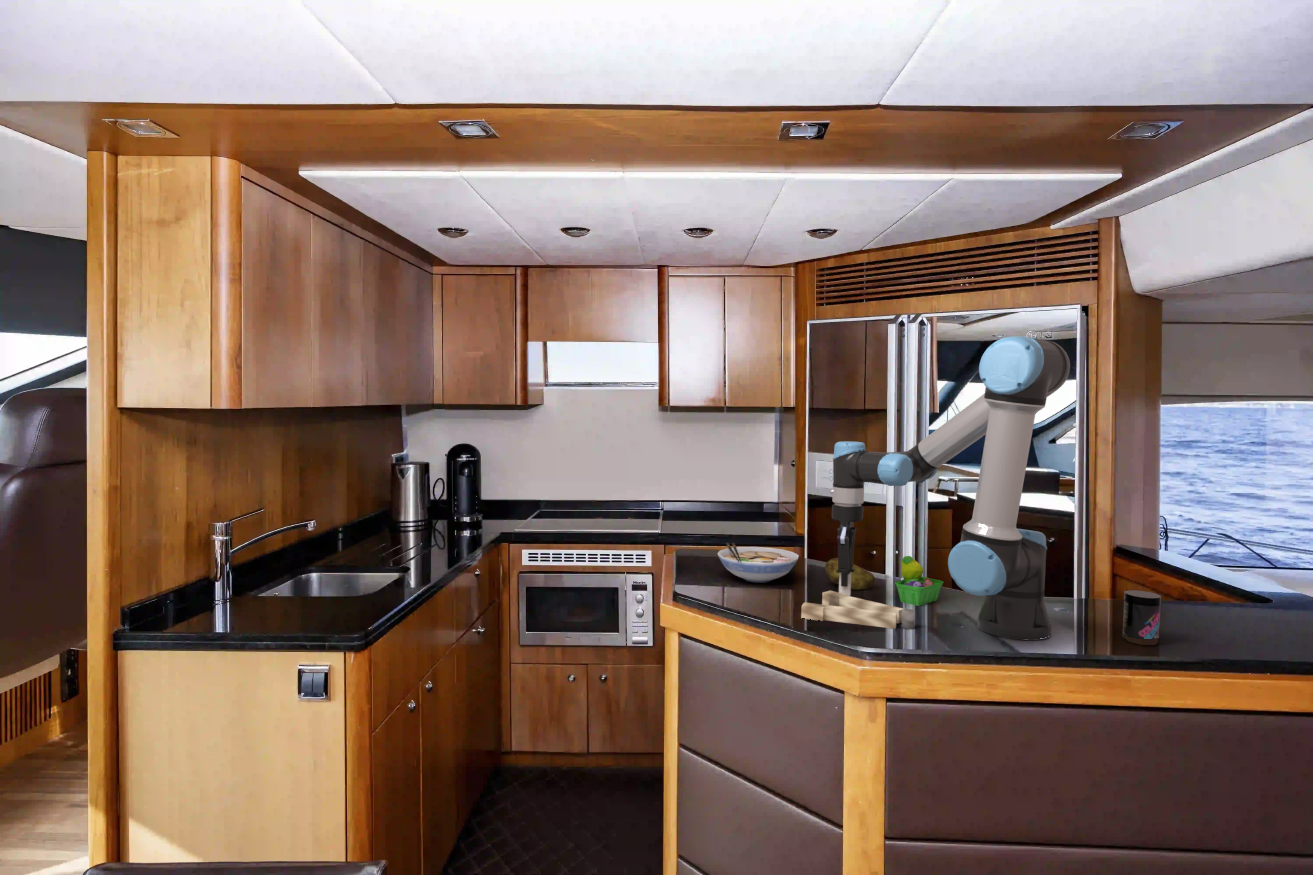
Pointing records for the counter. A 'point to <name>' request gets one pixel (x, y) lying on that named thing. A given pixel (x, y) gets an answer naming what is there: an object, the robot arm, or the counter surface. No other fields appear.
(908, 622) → the tongs fixed
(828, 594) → the bar
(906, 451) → the robot arm
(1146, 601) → the supplement container
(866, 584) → the potato
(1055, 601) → the counter surface
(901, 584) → the fruit basket
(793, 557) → the ramen bowl
